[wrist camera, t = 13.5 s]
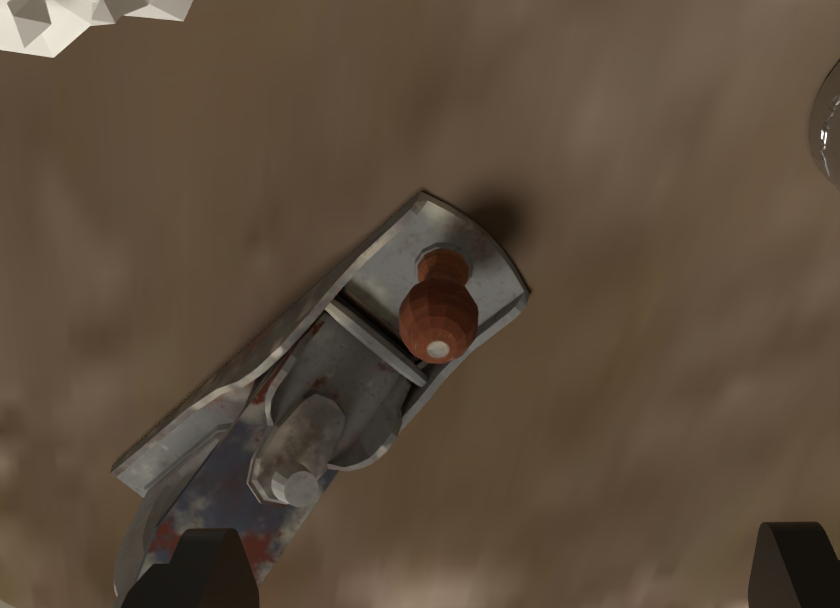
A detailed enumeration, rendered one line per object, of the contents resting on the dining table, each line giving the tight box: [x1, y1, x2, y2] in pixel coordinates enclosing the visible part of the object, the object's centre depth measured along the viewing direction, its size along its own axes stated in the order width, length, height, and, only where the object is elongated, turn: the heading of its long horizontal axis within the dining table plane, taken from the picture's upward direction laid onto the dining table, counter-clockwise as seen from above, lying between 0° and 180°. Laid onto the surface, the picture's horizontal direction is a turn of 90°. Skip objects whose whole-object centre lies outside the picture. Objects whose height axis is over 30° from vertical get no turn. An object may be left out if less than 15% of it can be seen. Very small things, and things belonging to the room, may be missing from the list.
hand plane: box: [110, 192, 529, 608], centre depth 44 cm, size 9×33×15 cm, turn 135°
